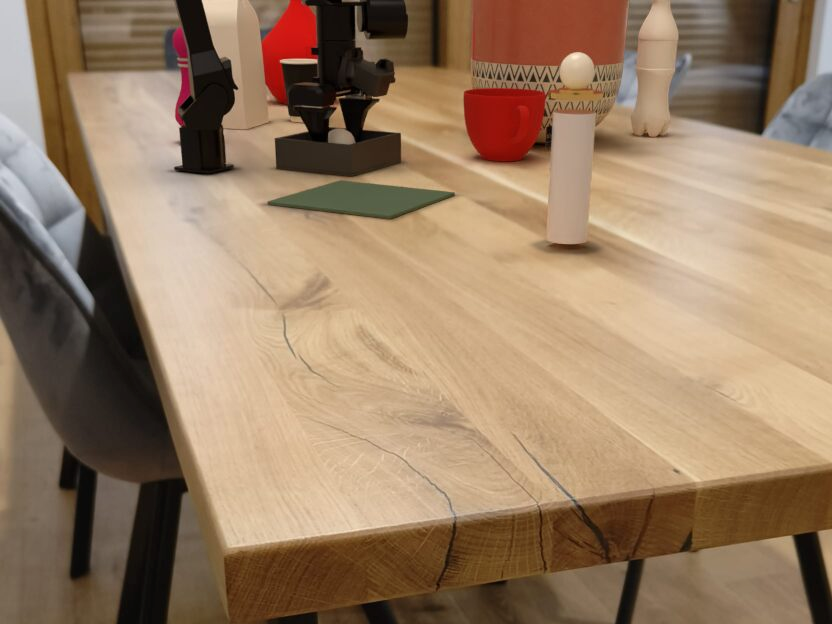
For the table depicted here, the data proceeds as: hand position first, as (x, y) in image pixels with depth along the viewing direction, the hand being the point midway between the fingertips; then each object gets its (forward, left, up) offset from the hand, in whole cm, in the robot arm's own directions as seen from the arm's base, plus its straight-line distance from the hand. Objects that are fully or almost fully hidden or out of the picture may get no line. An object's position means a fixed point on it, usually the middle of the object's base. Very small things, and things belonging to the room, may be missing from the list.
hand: (339, 150), depth 170 cm
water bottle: (+59, -31, -2) cm, 67 cm away
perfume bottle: (-34, -50, -2) cm, 61 cm away
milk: (+30, +43, -2) cm, 52 cm away
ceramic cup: (+18, -20, -2) cm, 27 cm away
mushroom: (0, 0, -2) cm, 2 cm away
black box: (0, 0, -2) cm, 2 cm away
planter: (+41, -17, -2) cm, 44 cm away
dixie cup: (+42, +34, -2) cm, 54 cm away
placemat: (-22, -17, -2) cm, 28 cm away
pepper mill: (+8, +33, -2) cm, 34 cm away
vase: (+68, +51, -2) cm, 85 cm away
